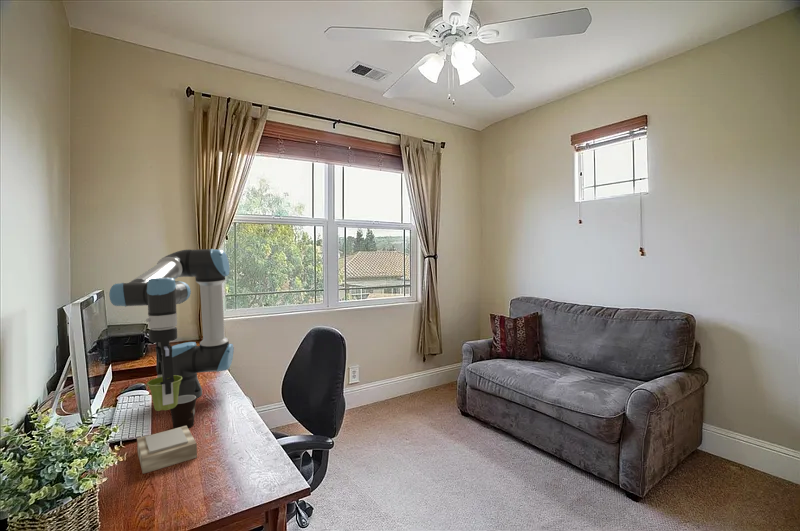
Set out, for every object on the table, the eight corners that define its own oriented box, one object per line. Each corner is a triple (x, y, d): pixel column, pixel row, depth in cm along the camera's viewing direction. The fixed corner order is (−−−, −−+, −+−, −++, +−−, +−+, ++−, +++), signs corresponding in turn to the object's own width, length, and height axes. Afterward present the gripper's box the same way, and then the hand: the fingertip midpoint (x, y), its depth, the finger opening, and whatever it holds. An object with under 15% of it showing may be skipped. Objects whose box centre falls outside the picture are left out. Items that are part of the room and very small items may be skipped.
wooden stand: (137, 451, 123) (136, 436, 123) (186, 438, 132) (186, 423, 132) (142, 473, 111) (142, 456, 111) (197, 457, 120) (196, 441, 120)
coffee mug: (185, 432, 136) (184, 404, 136) (164, 430, 138) (163, 403, 138) (207, 418, 148) (207, 392, 147) (188, 417, 149) (187, 391, 149)
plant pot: (157, 416, 115) (156, 387, 114) (142, 409, 120) (141, 381, 119) (189, 405, 123) (188, 378, 122) (173, 399, 128) (172, 373, 127)
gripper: (144, 324, 126) (147, 392, 127) (153, 335, 109) (156, 413, 110) (171, 321, 131) (173, 387, 132) (183, 331, 114) (186, 406, 115)
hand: (165, 399), depth 121 cm, fingers closed on plant pot, 9 cm apart
